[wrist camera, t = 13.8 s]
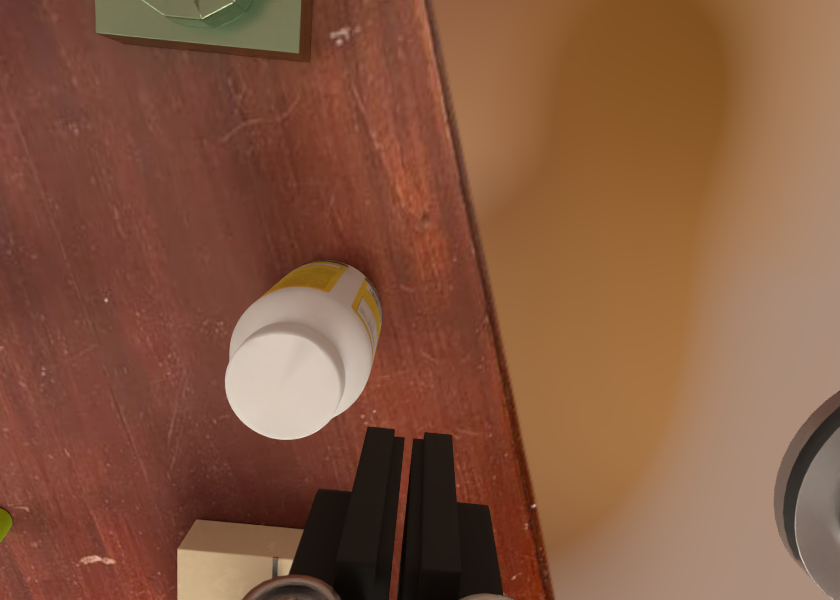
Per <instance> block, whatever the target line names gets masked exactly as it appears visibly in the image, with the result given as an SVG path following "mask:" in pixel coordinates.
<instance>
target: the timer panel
mask: <svg viewBox="0 0 840 600" xmlns="http://www.w3.org/2000/svg"><path fill="white" fill-rule="evenodd" d="M303 531H304V529H295V528H284V527H274V526H263V525H252V524H242V523H231V522H220V521H210V520H199V519H197V520H196V521H195V522H194V524H193V525H192V527H191V529H190V530H189V532H188V533H187V535H186V536H185V538H184V539H183V541H182V542H181V544H180V546H179V547H178V549H177V588H178V600H242V599H243V598H244V597H245V595H246V594H247V593H248V592H249V591H250V590H251V589H253V588H254V587H256V586H257V585H259V584H260V583H262V582H263V581H266V580H269V579H272V578H275V577H278V576H285V575H288V574H289V571H290V568H291V565H292V562H293V560H294V557H295V554H296V551H297V548H298V545H299V542H300V539H301V537H302V534H303Z"/></svg>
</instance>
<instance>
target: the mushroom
mask: <svg viewBox="0 0 840 600" xmlns="http://www.w3.org/2000/svg"><path fill="white" fill-rule="evenodd" d="M11 527H12V518H11V516H10V514H9V513H8V512H6V511H5V510H3V509H1V508H0V542H1V541H2V539H3V538H4V537H5V535H6V534H7V532H8V531H9V530H10V528H11Z"/></svg>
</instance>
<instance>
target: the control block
mask: <svg viewBox="0 0 840 600" xmlns="http://www.w3.org/2000/svg"><path fill="white" fill-rule="evenodd" d="M312 7H313V0H95V24H96V33H97V34H99V35H102V36H105V37H107V38H110V39H113V40H115V41H118V42H120V43H123V44H130V45H140V46H150V47H160V48H170V49H180V50H190V51H200V52H210V53H220V54H230V55H240V56H250V57H260V58H270V59H280V60H290V61H300V62H310V49H311V28H312Z"/></svg>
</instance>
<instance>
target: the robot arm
mask: <svg viewBox="0 0 840 600" xmlns="http://www.w3.org/2000/svg"><path fill="white" fill-rule="evenodd" d="M394 434H395V429H387V428H377V427H368V428H367V432H366V436H365V440H364V444H363V448H362V452H361V457H360V461H359V465H358V469H357V473H356V477H355V481H354V485H353V490H352V492H349V491H339V490H329V489H318V491H317V494H316V496H315V499H314V502H313V505H312V508H311V511H310V514H309V516H308V519H307V522H306V525H305V528H304V531H303V534H302V537H301V539H300V542H299V545H298V548H297V551H296V554H295V557H294V560H293V562H292V565H291V568H290V571H289V574H288V575H285V576H278V577H275V578H272V579H269V580H266V581H263V582H262V583H260V584H259V585H257V586H256V587H254V588H253V589H251V590H250V591H249V592H248V593H247V594H246V595H245V597H244V598H243V599H242V600H389V590H390V580H391V570H392V560H393V550H394V540H395V530H396V520H397V510H398V500H399V490H400V480H401V470H402V459H403V449H404V439H405V438H404V437H394ZM397 600H514V599H511V598H508V597H505V596H503V590H502V584H501V578H500V571H499V565H498V559H497V553H496V547H495V541H494V535H493V529H492V523H491V517H490V511H489V507H488V506H487V505H480V504H469V503H459V502H457V500H456V486H455V472H454V458H453V444H452V435H447V434H437V433H427V432H425V433H424V439H414V438H413V446H412V455H411V465H410V474H409V484H408V494H407V503H406V513H405V522H404V532H403V541H402V551H401V561H400V571H399V583H398V596H397Z"/></svg>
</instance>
